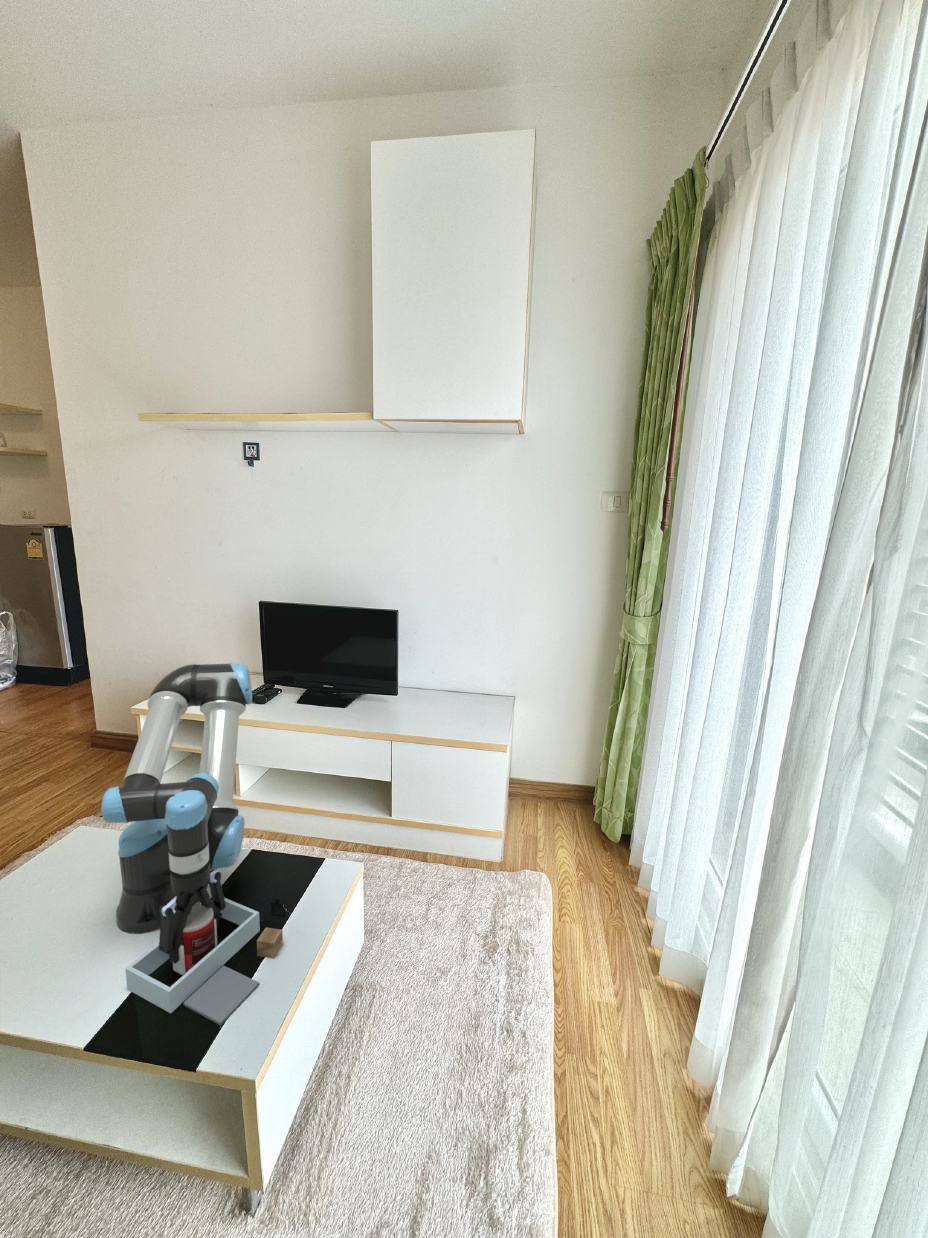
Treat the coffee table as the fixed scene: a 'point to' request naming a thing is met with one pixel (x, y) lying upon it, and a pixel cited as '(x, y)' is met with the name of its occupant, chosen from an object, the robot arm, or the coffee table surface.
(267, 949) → the walnut block
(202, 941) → the canned food
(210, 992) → the pad
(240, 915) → the bin
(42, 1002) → the coffee table surface
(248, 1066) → the coffee table surface
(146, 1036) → the coffee table surface
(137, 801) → the robot arm
